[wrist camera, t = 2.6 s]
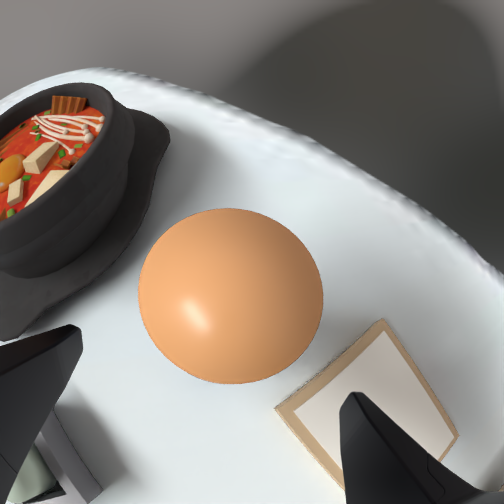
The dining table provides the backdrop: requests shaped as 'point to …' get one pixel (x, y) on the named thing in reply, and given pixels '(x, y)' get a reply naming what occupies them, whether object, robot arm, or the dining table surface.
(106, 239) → the casserole
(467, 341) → the dining table surface
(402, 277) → the dining table surface
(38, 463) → the button
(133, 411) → the dining table surface
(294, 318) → the toy microphone
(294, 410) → the sketch pad
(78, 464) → the gray square hollow block
